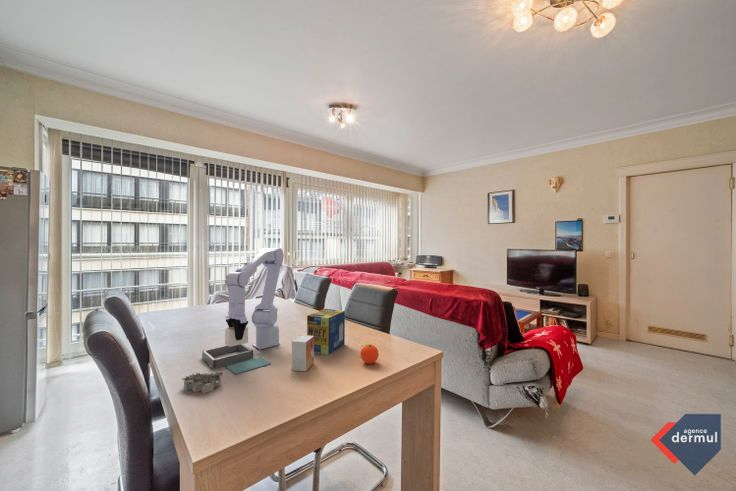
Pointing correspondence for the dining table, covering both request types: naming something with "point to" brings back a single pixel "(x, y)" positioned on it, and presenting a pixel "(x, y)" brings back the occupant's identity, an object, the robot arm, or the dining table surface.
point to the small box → (302, 353)
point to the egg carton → (198, 379)
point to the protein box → (327, 330)
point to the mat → (248, 365)
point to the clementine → (369, 353)
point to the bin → (227, 360)
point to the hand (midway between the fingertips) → (236, 338)
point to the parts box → (231, 339)
